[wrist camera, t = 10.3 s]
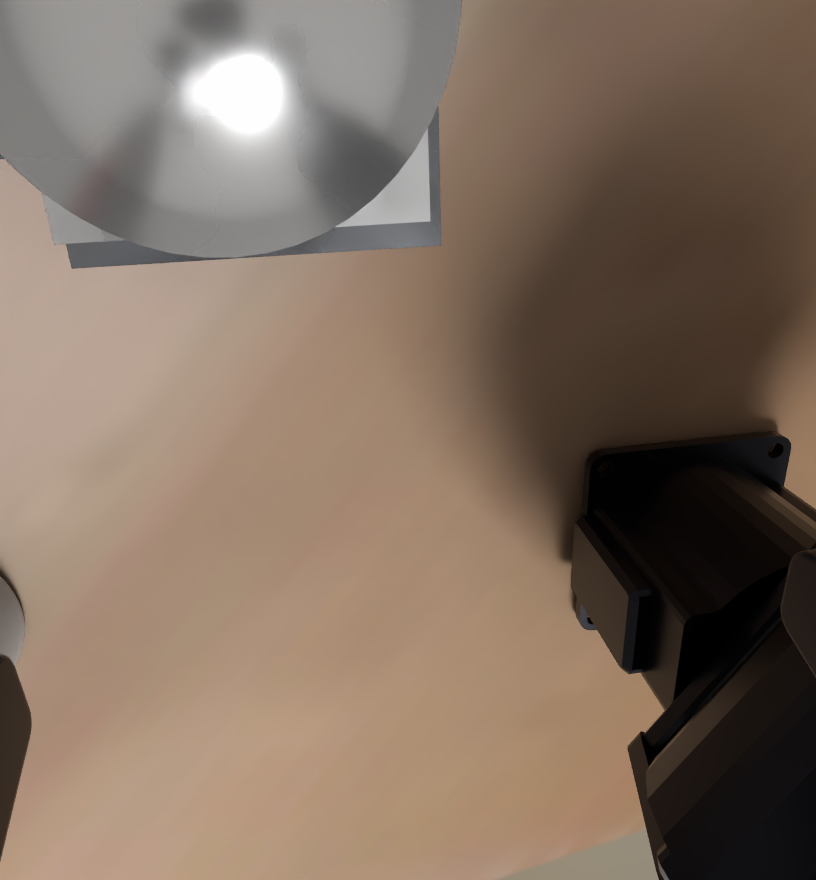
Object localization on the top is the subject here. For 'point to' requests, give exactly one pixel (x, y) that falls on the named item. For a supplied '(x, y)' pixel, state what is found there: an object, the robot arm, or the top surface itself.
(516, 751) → the top surface
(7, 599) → the lotion bottle
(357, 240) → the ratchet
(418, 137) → the grey square-based fixture
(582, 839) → the top surface
